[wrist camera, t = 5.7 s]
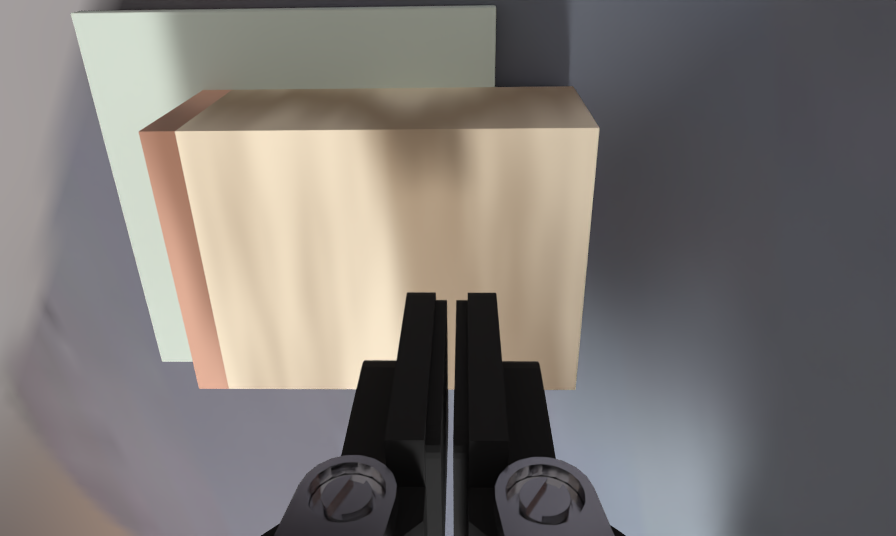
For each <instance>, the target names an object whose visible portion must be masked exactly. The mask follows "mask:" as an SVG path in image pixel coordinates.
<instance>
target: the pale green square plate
mask: <svg viewBox="0 0 896 536" xmlns="http://www.w3.org/2000/svg"><path fill="white" fill-rule="evenodd" d="M71 16H72V20H73V24H74V28H75V32H76V35H77V39H78V43H79V47H80V51H81V54H82V58H83V62H84V66H85V70H86V73H87V77H88V81H89V85H90V89H91V92H92V96H93V100H94V104H95V108H96V111H97V115H98V119H99V123H100V127H101V130H102V134H103V138H104V142H105V146H106V149H107V153H108V157H109V161H110V165H111V168H112V172H113V176H114V180H115V184H116V187H117V191H118V195H119V199H120V203H121V206H122V210H123V214H124V218H125V222H126V225H127V229H128V233H129V237H130V241H131V245H132V248H133V252H134V256H135V260H136V264H137V267H138V271H139V275H140V279H141V283H142V286H143V290H144V294H145V298H146V302H147V305H148V309H149V313H150V317H151V321H152V324H153V328H154V332H155V336H156V340H157V343H158V347H159V351H160V355H161V359H162V362H193V360H192V356H191V352H190V347H189V343H188V339H187V335H186V331H185V326H184V322H183V318H182V314H181V309H180V305H179V301H178V297H177V292H176V288H175V284H174V280H173V276H172V271H171V267H170V263H169V259H168V254H167V250H166V246H165V242H164V238H163V233H162V229H161V225H160V221H159V216H158V212H157V208H156V204H155V200H154V195H153V191H152V187H151V183H150V178H149V174H148V170H147V166H146V161H145V157H144V153H143V149H142V145H141V140H140V136H139V131H140V130H142V129H143V128H145V127H146V126H148V125H149V124H151V123H153V122H154V121H156V120H157V119H159V118H160V117H162V116H163V115H165V114H167V113H168V112H170V111H171V110H173V109H174V108H176V107H177V106H179V105H180V104H182V103H184V102H185V101H187V100H188V99H190V98H191V97H193V96H194V95H196V94H198V93H199V92H201V91H202V90H254V89H355V88H456V87H495V43H496V6H495V5H477V6H404V7H332V8H259V9H187V10H114V11H78V12H74V13H71Z"/></svg>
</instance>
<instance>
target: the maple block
mask: <svg viewBox="0 0 896 536" xmlns="http://www.w3.org/2000/svg"><path fill="white" fill-rule="evenodd" d="M139 136H140V140H141V145H142V149H143V153H144V157H145V161H146V166H147V170H148V174H149V178H150V183H151V187H152V191H153V195H154V200H155V204H156V208H157V212H158V216H159V221H160V225H161V229H162V233H163V238H164V242H165V246H166V250H167V254H168V259H169V263H170V267H171V271H172V276H173V280H174V284H175V288H176V292H177V297H178V301H179V305H180V309H181V314H182V318H183V322H184V326H185V331H186V335H187V339H188V343H189V347H190V352H191V356H192V360H193V364H194V369H195V373H196V377H197V381H198V385H199V389H357V384H358V380H359V376H360V371H361V367H362V364H363V362H364V360H397V354H398V347H399V340H400V334H401V327H402V321H403V314H404V308H405V301H406V295H407V292H436V300H447V329H448V389H454V384H455V336H456V300H468V293H496V294H497V305H498V317H499V329H500V340H501V352H502V361H538V362H539V364H540V368H541V374H542V380H543V386H544V390H575V388H576V377H577V366H578V356H579V345H580V334H581V323H582V312H583V302H584V291H585V280H586V269H587V258H588V247H589V237H590V226H591V215H592V204H593V193H594V182H595V172H596V161H597V150H598V139H599V126H598V125H597V123H596V122H595V120H594V118H593V117H592V115H591V114H590V112H589V111H588V109H587V107H586V106H585V104H584V103H583V101H582V100H581V98H580V97H579V95H578V93H577V92H576V90H575V89H574V87H573V86H556V87H456V88H355V89H254V90H202V91H201V92H199V93H198V94H196V95H194V96H193V97H191V98H190V99H188V100H187V101H185V102H184V103H182V104H180V105H179V106H177V107H176V108H174V109H173V110H171V111H170V112H168V113H167V114H165V115H163V116H162V117H160V118H159V119H157V120H156V121H154V122H153V123H151V124H149V125H148V126H146V127H145V128H143V129H142V130H140V131H139Z"/></svg>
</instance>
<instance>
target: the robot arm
mask: <svg viewBox="0 0 896 536" xmlns="http://www.w3.org/2000/svg"><path fill="white" fill-rule="evenodd" d="M447 451H448V329H447V300H436V292H407V295H406V301H405V308H404V314H403V321H402V327H401V334H400V340H399V347H398V354H397V360H364V362H363V364H362V367H361V371H360V376H359V380H358V384H357V389H356V393H355V398H354V402H353V406H352V411H351V415H350V420H349V424H348V428H347V433H346V437H345V441H344V446H343V450H342V455H341V456H340V457H335V458H331V459H329V460H327V461H325V462H323V463H320V464H318V465H317V466H316V467H314V468H313V469H312V470H311V471H309V472H308V473H307V474H306V475H305V477H304V478H303V479H302V481H301V482H300V484H299V485H298V487H297V489H296V491H295V493H294V495H293V497H292V500H291V502H290V504H289V506H288V508H287V510H286V512H285V514H284V516H283V518H282V520H281V522H280V524H278V525H277V526H275V527H274V528H272V529H271V530H269V531H267V532H266V533H264V534H263V535H261V536H445V514H446V482H447ZM453 481H454V536H625V535H624V534H622V533H621V532H620V531H618V530H617V529H615V528H614V527H612V526H611V525H610V524H609V522H608V519H607V517H606V515H605V512H604V510H603V507H602V505H601V503H600V500H599V498H598V496H597V493H596V491H595V489H594V487H593V485H592V484H591V482H590V481H589V479H588V477H587V476H586V475H585V474H583V473H582V472H581V471H580V470H579V469H577V468H576V467H574V466H572V465H570V464H568V463H566V462H564V461H562V460H558V459H556V457H555V452H554V446H553V440H552V434H551V428H550V422H549V416H548V410H547V404H546V398H545V392H544V386H543V380H542V374H541V368H540V364H539V362H538V361H502V352H501V340H500V329H499V317H498V305H497V294H496V293H468V300H456V336H455V384H454V434H453Z"/></svg>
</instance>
